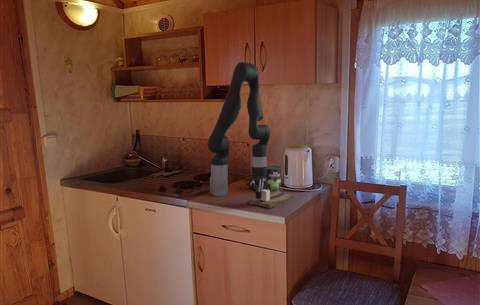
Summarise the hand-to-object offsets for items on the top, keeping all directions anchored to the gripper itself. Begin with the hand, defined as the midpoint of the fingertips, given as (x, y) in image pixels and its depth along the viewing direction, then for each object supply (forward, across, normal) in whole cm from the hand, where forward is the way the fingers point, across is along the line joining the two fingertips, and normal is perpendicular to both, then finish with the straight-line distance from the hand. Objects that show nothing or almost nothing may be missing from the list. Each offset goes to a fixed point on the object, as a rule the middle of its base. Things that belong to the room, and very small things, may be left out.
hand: (258, 198), depth 191 cm
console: (+4, -12, 0) cm, 12 cm away
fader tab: (+2, -4, 0) cm, 5 cm away
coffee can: (+4, -27, -12) cm, 30 cm away
